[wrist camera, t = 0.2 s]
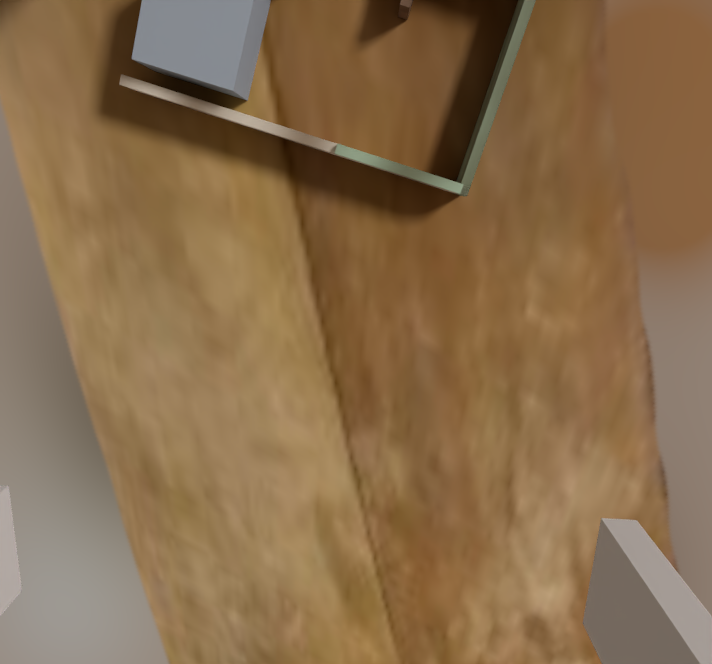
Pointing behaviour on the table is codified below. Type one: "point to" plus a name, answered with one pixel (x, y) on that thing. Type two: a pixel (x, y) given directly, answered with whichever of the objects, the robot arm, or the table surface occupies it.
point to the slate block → (202, 41)
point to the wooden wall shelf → (458, 187)
